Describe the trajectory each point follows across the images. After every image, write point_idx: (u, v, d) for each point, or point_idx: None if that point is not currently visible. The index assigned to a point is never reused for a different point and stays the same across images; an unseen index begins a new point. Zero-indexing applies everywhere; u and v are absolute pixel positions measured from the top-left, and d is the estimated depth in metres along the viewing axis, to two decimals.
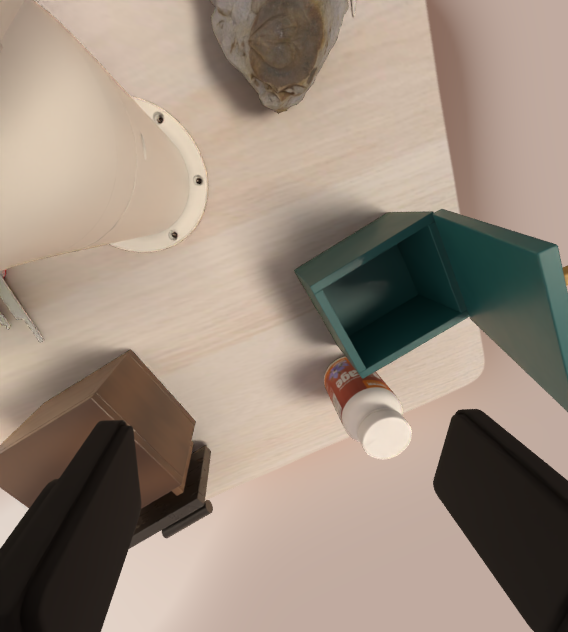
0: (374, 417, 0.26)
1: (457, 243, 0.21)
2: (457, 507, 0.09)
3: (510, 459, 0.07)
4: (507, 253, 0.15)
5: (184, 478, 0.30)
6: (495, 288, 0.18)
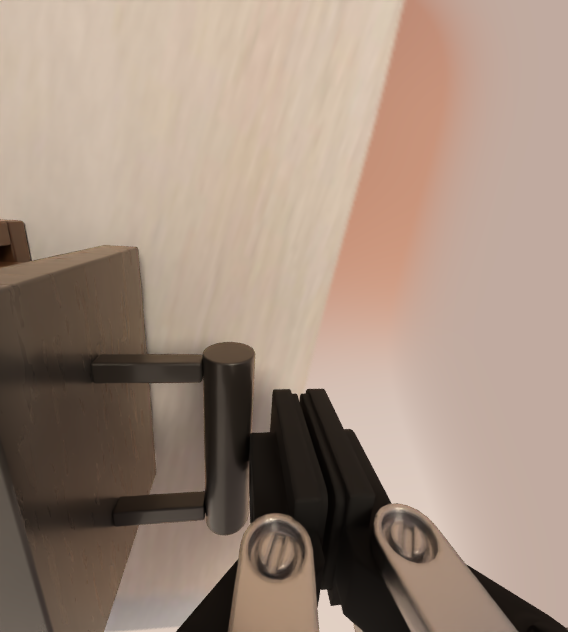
0: None
1: None
2: None
3: (318, 431, 0.08)
4: None
5: None
6: None
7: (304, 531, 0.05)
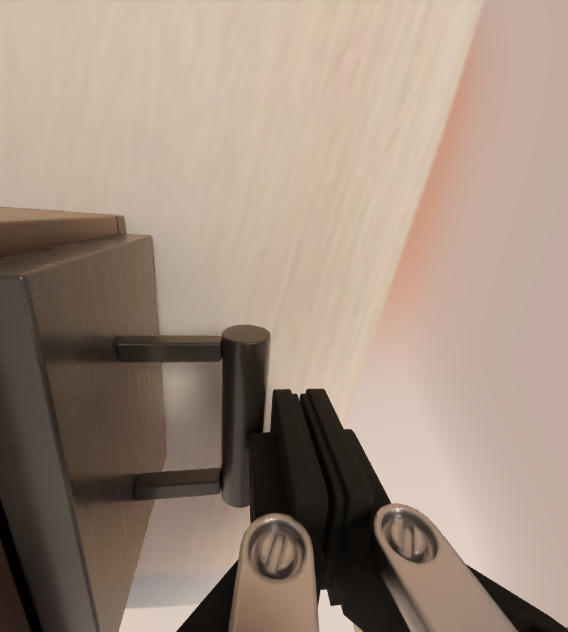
0: None
1: None
2: None
3: (318, 431, 0.08)
4: None
5: None
6: None
7: (304, 531, 0.05)
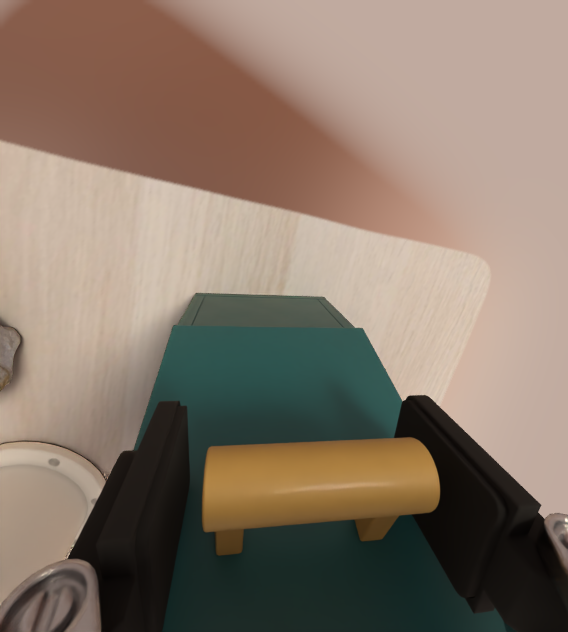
0: None
1: None
2: None
3: (444, 438, 0.08)
4: None
5: None
6: None
7: (95, 584, 0.04)
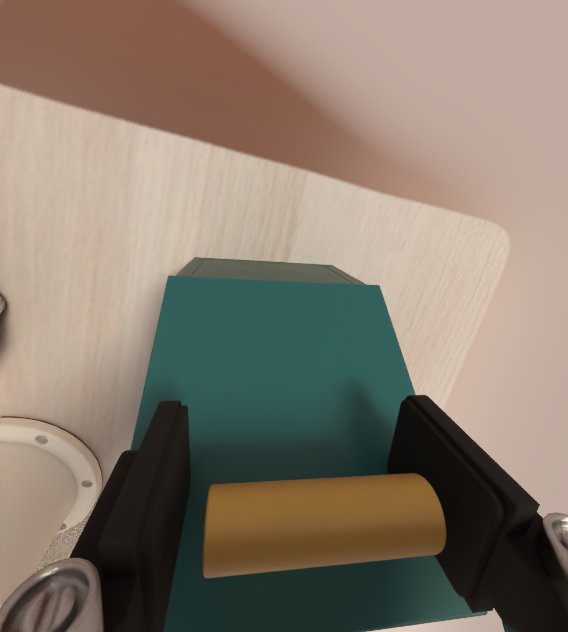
0: None
1: None
2: None
3: (443, 438, 0.08)
4: None
5: None
6: None
7: (97, 582, 0.04)
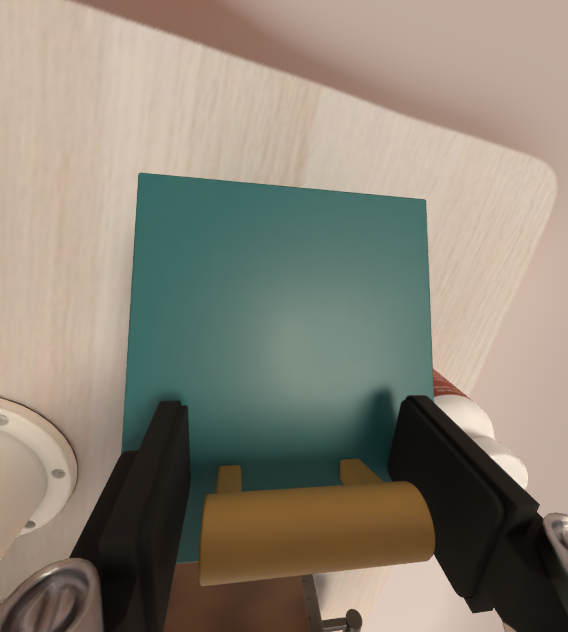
0: None
1: None
2: None
3: (443, 438, 0.08)
4: None
5: None
6: None
7: (97, 582, 0.04)
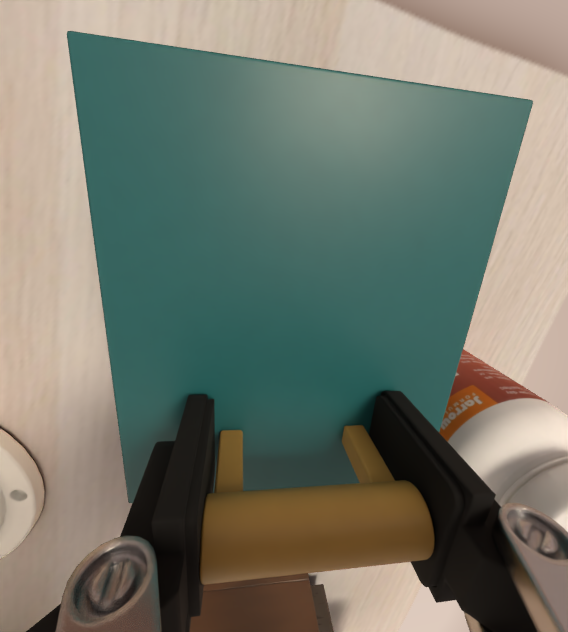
0: None
1: None
2: None
3: (411, 432, 0.08)
4: None
5: None
6: None
7: (153, 557, 0.05)
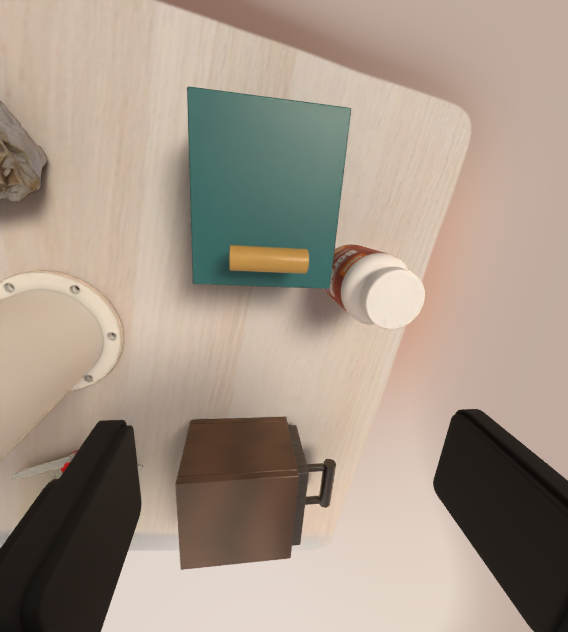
0: (363, 298, 0.22)
1: None
2: (458, 507, 0.09)
3: (510, 459, 0.07)
4: None
5: None
6: None
7: None
